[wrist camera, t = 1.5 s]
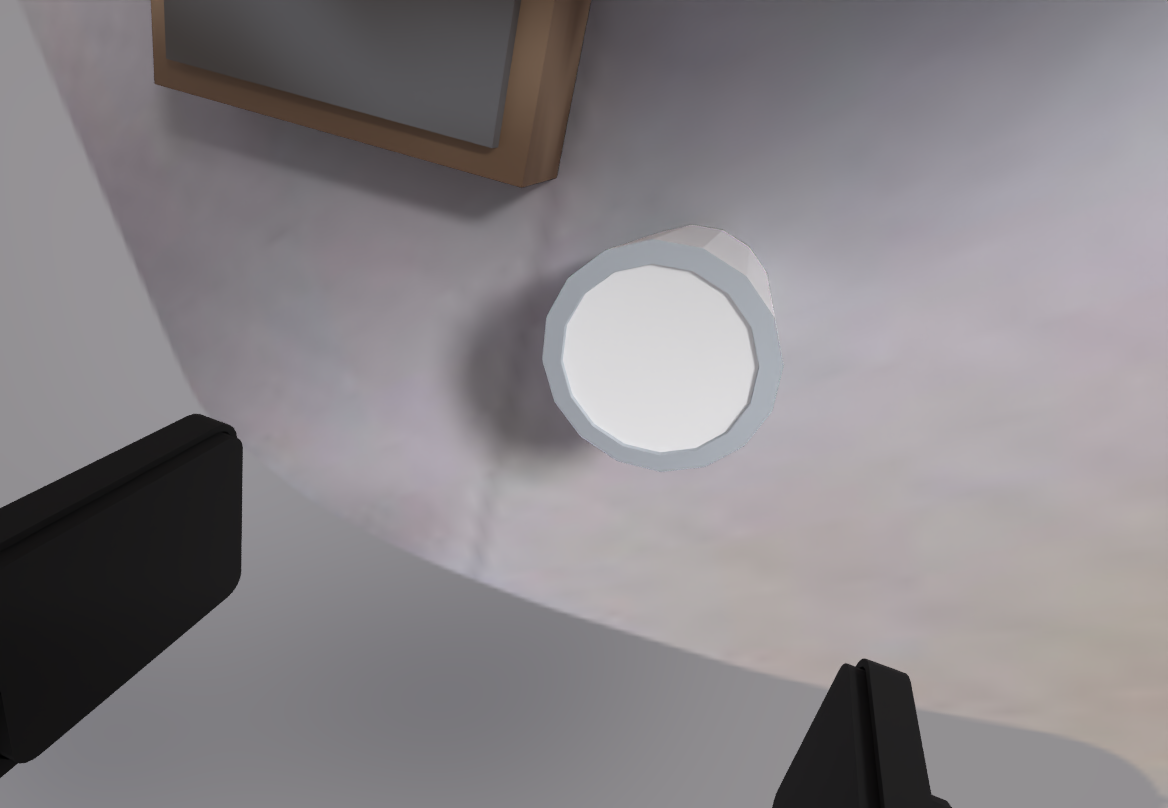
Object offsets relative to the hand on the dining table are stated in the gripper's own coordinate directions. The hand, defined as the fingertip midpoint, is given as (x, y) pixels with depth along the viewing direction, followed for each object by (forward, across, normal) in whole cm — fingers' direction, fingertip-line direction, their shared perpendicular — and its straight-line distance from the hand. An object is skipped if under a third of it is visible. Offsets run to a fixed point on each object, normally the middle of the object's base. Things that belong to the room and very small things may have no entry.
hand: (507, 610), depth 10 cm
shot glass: (+18, 0, 0) cm, 18 cm away
